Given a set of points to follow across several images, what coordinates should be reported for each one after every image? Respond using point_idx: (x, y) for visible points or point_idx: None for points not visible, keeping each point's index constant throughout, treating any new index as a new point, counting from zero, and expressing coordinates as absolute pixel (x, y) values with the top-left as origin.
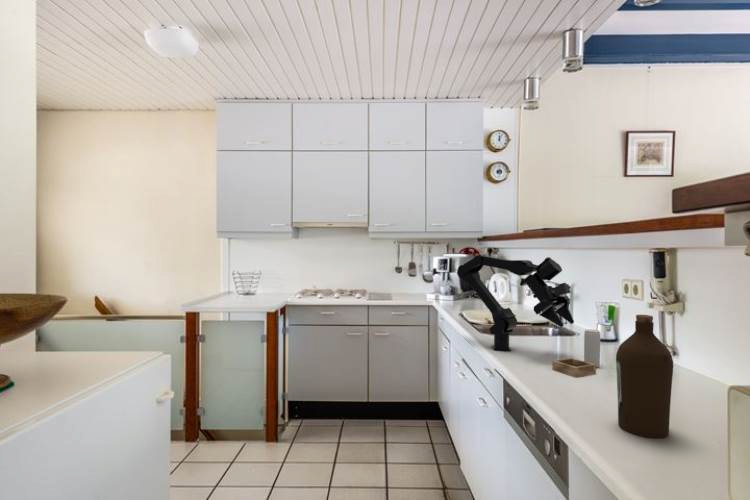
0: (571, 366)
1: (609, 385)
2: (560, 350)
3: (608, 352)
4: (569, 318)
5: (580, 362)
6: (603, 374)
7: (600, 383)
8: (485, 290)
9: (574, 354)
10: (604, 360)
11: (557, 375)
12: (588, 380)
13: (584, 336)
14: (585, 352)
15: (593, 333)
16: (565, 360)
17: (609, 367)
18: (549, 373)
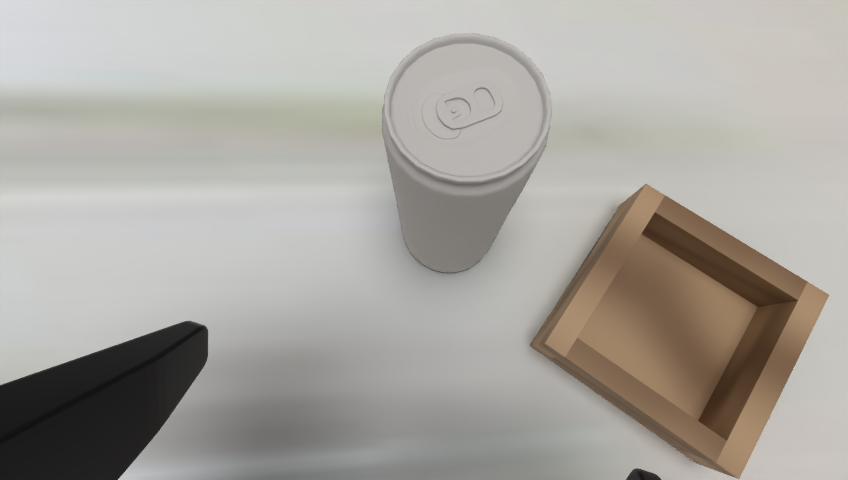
0: (812, 327)
1: (806, 141)
2: None
3: (5, 145)
4: (133, 405)
5: (611, 280)
6: (603, 168)
7: (802, 180)
8: None
9: None
10: (251, 165)
11: (815, 415)
12: (789, 237)
13: (481, 210)
14: (487, 242)
15: (544, 100)
16: (641, 382)
17: None
18: (805, 471)
